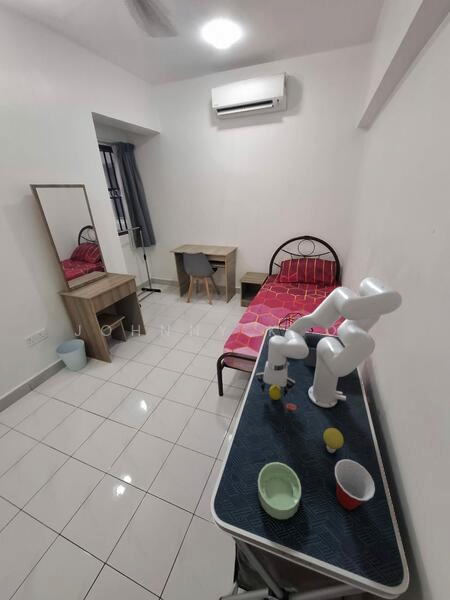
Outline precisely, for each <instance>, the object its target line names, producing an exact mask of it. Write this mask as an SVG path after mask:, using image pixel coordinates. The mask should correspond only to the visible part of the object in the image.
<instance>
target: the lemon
mask: <svg viewBox="0 0 450 600" xmlns="http://www.w3.org/2000/svg"><path fill="white" fill-rule="evenodd" d="M268 393H269V397H270V398H271V399H272V400H275V401H277V400H279V399H281V397H282V389H281V386H277V385H271V386H270V387H269V392H268Z"/></svg>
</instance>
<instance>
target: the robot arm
mask: <svg viewBox="0 0 450 600" xmlns="http://www.w3.org/2000/svg"><path fill="white" fill-rule="evenodd" d="M358 293H359V295H358V294H357V293H355V292H354V291H353V290H352V289H350V288H348V287H345V286H338V287H336V288H334V289H333V290H332V291H331V292H330V293H329V294H328V295H327V297H326V298H325V299H324V300H323V301H322V302H321V303H320V304H319V305H318V306H317V307H316V308H315V309H314V311H313V312H312V313H310V314H307V315H303V316H301V317H300V318H297V319H296V320H295V321H294V322H293V323H292V324H291V325H289V327H288V328H287V329H286V330H285V333H284V335H283V336H281V335H273V336H271V337H270V338H269V340H268V353H267V361H266V362H265V365H264V369H263V371H261V372H257V373H255V377H256V380H257V381H258V382H259V383H260V385H261V386H260V389H261V391H262V392H265V388H266V384H268V385H271V386H273V385H277V386H279V387H282V388H284V389H283V397H286V395H288V391H289V390H290V389H292V388H293V387H294V386H295V385H296V381H295V380H294V379H292V378H291V377H289V376H288V373H289V371H288V370H289V369H288V368H289V367H290V362H288V361H287V358H288V359H289V358H290V359H294V360H303V359H305V357H307V355H308V353H309V350H308V347H307V345H306V343H305V341H304V339H303V337H304V335H305V334H306V333H307V332H308V331H309V330H310V329H312V328H315V327H317V328H318V327H319V328H321V329H324V330H329V329H331V328H332V327H333V325H335V323H337V321H338V320H339V319H341V317H343V318H344V319H345V320H344V321H343V322H342V323H341V324H340V325H338V327H337V328H336V335H337V338H339V339H340V340H341V341H342V343H343V344H344V345H345V348H343V346H342V345H341V344H340V342H339V341H338V340H336V339H335V338H336V337H335V338H333V337H334V336H329V337H325V338H322V339H321V340H320V341H319V343H318V345H317V362H316V367H315V371H314V376H313V383H312V385H311V386H310V387H309V389H308V393H307V394H308V397H309V400H310V401H311V402H312V403H313V404H315V405H317V406H318V407H321V408H333V407H335V406H336V404H337V403H338V400H341V401H344V402H346V401H347V396H346V395H343V391H338V390H337V385H338V381H339V378H342V377H346V376H348V375H350V374H351V373H352V372H353V371H355V370H356V369H357V368H358V367H359V366H360V365H361V364H363V363H364V362H365V361H366V360H368V358H369V357H371V355H372V354H373V353H374V351H375V349H376V343H375V342H376V341H375V339H374V337H373V336H372V335H371V334H370V333H369V332H370V330H371V329H372V328H373V327H374V326H375V325H376V324H377V323H378V321H379V320H380V319H381V316H384V315H388V314H391V313H393V312H395V311H397V310H398V309H399V308H400V307H401V305H402V302H403V298H402V295H401V294H400V292H399V291H397V290H396V289H394V288H393V287H391V286H390V285H388V284H387V283H385V282H384V281H382V280H381V279H379V278H376V277H372V276H369V277H366V278H364V279H363V280H361V282H360V284H359V286H358ZM262 377H263V378H262Z"/></svg>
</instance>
